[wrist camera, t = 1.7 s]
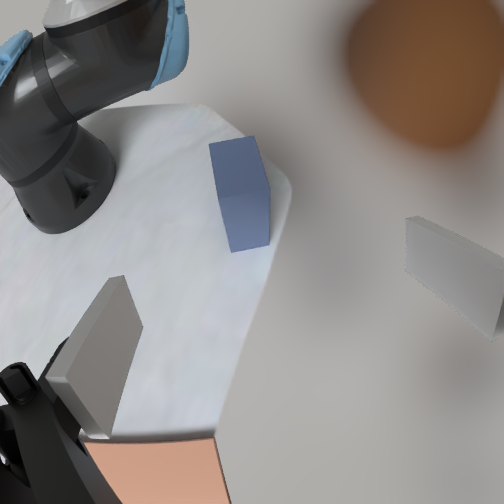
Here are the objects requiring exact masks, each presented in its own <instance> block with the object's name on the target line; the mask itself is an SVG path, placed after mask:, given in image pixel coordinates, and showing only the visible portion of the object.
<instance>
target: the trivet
mask: <svg viewBox="0 0 504 504" xmlns="http://www.w3.org/2000/svg"><path fill="white" fill-rule="evenodd" d="M83 442H84V444H85V446H86V448H87V450H88V451H89V453H90V455H91V456H92V458H93V460H94V462H95V463H96V465H97V466H98V468H99V470H100V471H101V473H102V474H103V476H104V477H105V479H106V481H107V482H108V484H109V485H110V486H111V488H112V489H113V491H114V492H115V494H116V495H117V497H118V498H119V499H120V501H121V502H122V503H123V504H231V500H230V496H229V493H228V489H227V485H226V481H225V477H224V474H223V470H222V466H221V462H220V457H219V453H218V449H217V445H216V441H215V437H211V438H202V439H193V440H181V441H167V442H144V443H108V442H85V441H83Z"/></svg>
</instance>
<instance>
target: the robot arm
mask: <svg viewBox="0 0 504 504" xmlns="http://www.w3.org/2000/svg"><path fill="white" fill-rule="evenodd" d="M42 23H43V25H44V28H45V30H46V31H45V32H43V33H42V34H40V35H38V36H37V37H34V38H33V35H32V33H30V32H29V31H28V30H23V31H21V32H19V33H18V34H16V35H15V36H13V37H12V38H10V39H9V40H8V41H6V42H5V43H4V44H3V45H2V46H1V47H0V175H1V176H2V177H3V178H4V179H5V180H6V181H7V182H8V183H9V184H10V185H11V186H12V187H13V189H14V191H15V194H16V196H17V198H18V200H19V202H20V204H21V206H22V208H23V211H24V213H25V215H26V217H27V219H28V220H29V221H30V222H31V223H32V224H33V225H34V226H35V227H36V228H38V229H39V230H40V231H42V232H44V233H47V234H59V233H63V232H66V231H69V230H71V229H73V228H75V227H77V226H78V225H80V224H81V223H83V222H84V221H85V220H86V219H88V218H89V217H90V216H91V215H92V214H93V213H94V212H95V211H96V210H97V209H98V207H99V206H100V205H101V204H102V202H103V201H104V199H105V198H106V196H107V194H108V193H109V191H110V189H111V186H112V184H113V181H114V177H115V162H114V159H113V157H112V155H111V153H110V151H109V150H108V148H107V146H106V145H105V144H104V143H103V142H102V141H101V140H99V139H97V138H96V137H95V136H93V135H92V134H91V133H90V132H88V131H87V130H86V129H84V128H83V127H81V126H80V125H79V124H78V123H77V121H78V120H80V119H82V118H84V117H86V116H88V115H90V114H92V113H94V112H96V111H98V110H100V109H102V108H104V107H106V106H109V105H111V104H113V103H115V102H118V101H120V100H122V99H124V98H127V97H129V96H132V95H134V94H136V93H139V92H141V91H144V90H145V91H148V90H151V89H152V88H154V87H155V86H156V85H158V84H161V83H163V82H166V81H168V80H171V79H173V78H175V77H177V76H178V75H179V74H180V73H181V72H182V71H183V69H184V68H185V66H186V63H187V60H188V53H189V27H188V19H187V15H186V14H185V3H184V0H50V3H49V5H48V8H47V10H46V12H45V14H44V17H43V19H42ZM405 271H406V272H407V273H409V274H410V275H411V276H413V277H414V278H415V279H416V280H418V281H419V282H420V283H421V284H423V285H424V286H425V287H427V288H428V289H429V290H430V291H432V292H433V293H434V294H435V295H437V296H438V297H439V298H440V299H441V300H443V301H444V302H445V303H446V304H448V305H449V306H450V307H451V308H452V309H454V310H455V311H456V312H457V313H458V314H459V315H461V316H462V317H463V318H464V319H466V320H467V321H468V322H469V323H470V324H471V325H472V326H474V327H475V328H476V329H477V330H478V331H479V332H480V333H481V334H483V335H484V336H485V337H486V338H487V339H488V340H489V341H490V342H492V341H494V340H495V339H497V338H499V337H501V336H502V335H503V334H504V258H503V257H501V256H499V255H497V254H495V253H493V252H491V251H490V250H488V249H486V248H484V247H482V246H480V245H478V244H476V243H474V242H472V241H470V240H468V239H466V238H464V237H462V236H460V235H458V234H456V233H454V232H452V231H450V230H448V229H445V228H443V227H441V226H439V225H437V224H435V223H432V222H430V221H428V220H426V219H424V218H421V217H419V216H416V217H410V218H406V260H405ZM142 330H143V325H142V322H141V320H140V317H139V315H138V312H137V310H136V307H135V304H134V302H133V299H132V296H131V294H130V291H129V288H128V285H127V282H126V280H125V277H124V275H122V276H117V277H112V278H109V279H108V280H107V282H106V283H105V285H104V286H103V287H102V289H101V290H100V292H99V293H98V295H97V296H96V297H95V299H94V300H93V302H92V303H91V305H90V306H89V308H88V309H87V311H86V312H85V314H84V315H83V317H82V318H81V320H80V321H79V323H78V324H77V326H76V327H75V329H74V330H73V332H72V333H71V335H70V337H68V338H66V339H65V340H64V341H63V342H62V343H61V344H60V345H59V346H58V348H57V349H56V351H55V353H54V355H53V356H52V357H51V359H50V363H48V364H47V366H46V367H45V369H44V371H43V372H42V374H41V376H40V377H39V379H38V381H37V380H36V379H35V377H34V376H33V374H32V373H31V371H30V369H29V368H28V366H27V365H26V363H23V362H17V363H14V364H11V365H9V366H8V367H6V368H5V369H3V370H2V371H1V372H0V393H1V394H2V395H3V397H4V398H5V399H6V401H7V402H8V404H7V405H3V406H0V454H1V455H2V456H3V457H4V458H5V464H3V462H2V460H1V458H0V504H123V503H122V502H121V501H120V499H119V498H118V497H117V495H116V494H115V492H114V491H113V489H112V488H111V486H110V485H109V484H108V482H107V481H106V479H105V477H104V476H103V474H102V473H101V471H100V470H99V468H98V466H97V465H96V463H95V462H94V460H93V458H92V456H91V455H90V453H89V451H88V450H87V448H86V446H85V444H84V442H83V441H82V440H81V439H80V438H79V437H78V435H79V432H80V429H81V428H82V429H83V430H84V432H85V433H86V434H87V435H88V436H89V438H90V439H110V436H111V432H112V428H113V424H114V421H115V417H116V413H117V410H118V406H119V403H120V399H121V396H122V392H123V389H124V386H125V382H126V379H127V376H128V373H129V369H130V366H131V363H132V360H133V357H134V354H135V351H136V348H137V345H138V342H139V339H140V336H141V333H142Z"/></svg>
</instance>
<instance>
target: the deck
mask: <svg viewBox="0 0 504 504" xmlns="http://www.w3.org/2000/svg"><path fill="white" fill-rule="evenodd" d="M209 149H210V155H211V161H212V167H213V173H214V179H215V184H216V190H217V196H218V201H219V206H220V210H221V214H222V218H223V222H224V226H225V230H226V234H227V238H228V242H229V246H230V250H231V253H233V252H237V251H242V250H247V249H252V248H257V247H262V246H267V245H269V224H270V187H269V183H268V180H267V177H266V173H265V170H264V167H263V163H262V160H261V157H260V153H259V150H258V147H257V144H256V140H255V137H254V136H249V137H243V138H237V139H232V140H226V141H221V142H216V143H211V144H209Z"/></svg>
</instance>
